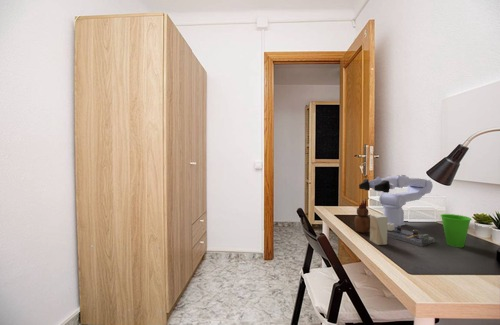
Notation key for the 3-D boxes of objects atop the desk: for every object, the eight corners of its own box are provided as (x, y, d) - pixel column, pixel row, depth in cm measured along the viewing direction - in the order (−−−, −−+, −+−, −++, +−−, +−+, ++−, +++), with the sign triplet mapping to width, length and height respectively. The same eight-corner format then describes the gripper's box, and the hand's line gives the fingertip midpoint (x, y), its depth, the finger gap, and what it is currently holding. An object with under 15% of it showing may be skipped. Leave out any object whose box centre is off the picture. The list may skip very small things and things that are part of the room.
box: (369, 240, 96) (369, 213, 95) (379, 240, 96) (379, 213, 96) (377, 245, 91) (377, 217, 90) (388, 244, 91) (388, 216, 91)
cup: (470, 244, 90) (471, 216, 90) (471, 251, 84) (471, 221, 83) (441, 239, 96) (441, 212, 96) (439, 245, 90) (439, 217, 89)
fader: (389, 228, 105) (390, 222, 105) (394, 229, 103) (394, 223, 103) (386, 229, 104) (386, 223, 104) (390, 230, 102) (390, 224, 102)
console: (387, 229, 110) (387, 221, 110) (434, 241, 93) (434, 233, 93) (374, 232, 105) (374, 224, 105) (421, 246, 89) (421, 237, 89)
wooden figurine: (367, 229, 109) (367, 198, 109) (372, 233, 104) (372, 200, 103) (352, 229, 110) (352, 198, 110) (357, 233, 104) (357, 200, 104)
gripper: (370, 175, 120) (353, 177, 114) (399, 176, 108) (382, 180, 101) (371, 188, 120) (353, 192, 114) (400, 191, 108) (382, 196, 101)
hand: (367, 187), depth 107 cm, fingers open, 7 cm apart
